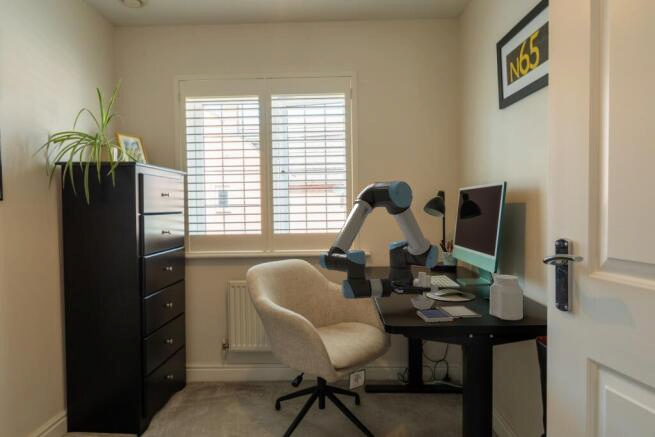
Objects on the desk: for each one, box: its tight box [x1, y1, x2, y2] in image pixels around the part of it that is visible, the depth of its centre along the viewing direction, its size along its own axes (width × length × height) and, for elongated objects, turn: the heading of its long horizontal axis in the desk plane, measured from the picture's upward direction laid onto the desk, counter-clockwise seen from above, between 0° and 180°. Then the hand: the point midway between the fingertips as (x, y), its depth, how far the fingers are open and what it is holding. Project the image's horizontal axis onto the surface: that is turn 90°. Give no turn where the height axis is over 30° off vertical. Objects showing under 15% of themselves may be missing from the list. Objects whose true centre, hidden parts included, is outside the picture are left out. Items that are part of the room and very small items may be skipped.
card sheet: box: [435, 304, 483, 319], centre depth 143 cm, size 14×12×1 cm
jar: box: [489, 274, 524, 321], centre depth 137 cm, size 12×10×15 cm
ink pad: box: [416, 309, 454, 323], centre depth 136 cm, size 10×10×2 cm
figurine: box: [409, 271, 436, 311], centre depth 148 cm, size 7×9×15 cm
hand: (432, 285), depth 148 cm, fingers closed on figurine, 9 cm apart
